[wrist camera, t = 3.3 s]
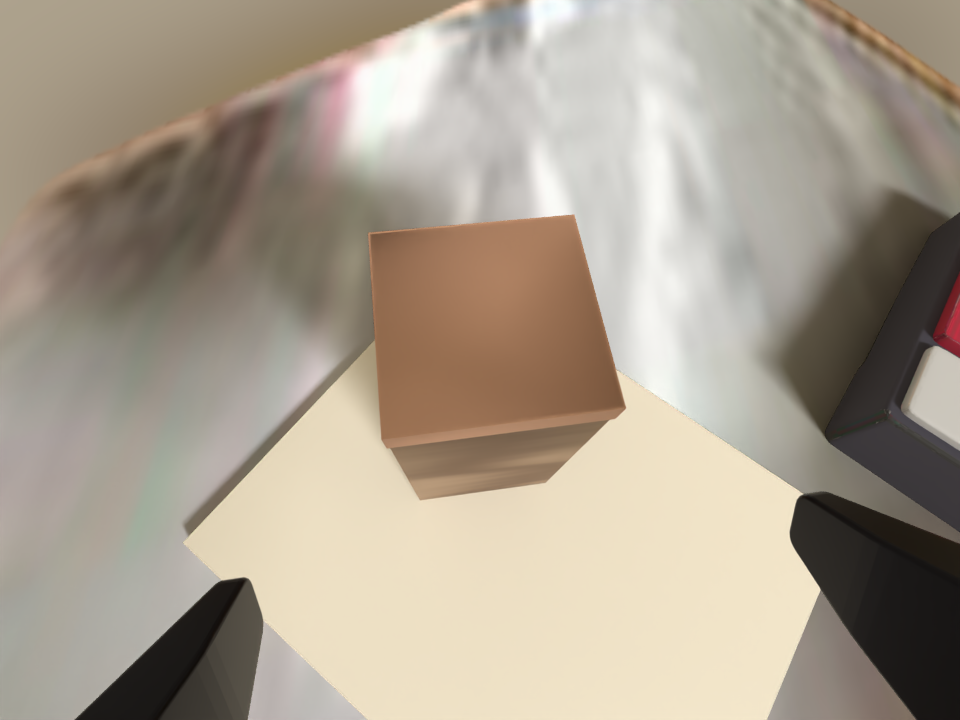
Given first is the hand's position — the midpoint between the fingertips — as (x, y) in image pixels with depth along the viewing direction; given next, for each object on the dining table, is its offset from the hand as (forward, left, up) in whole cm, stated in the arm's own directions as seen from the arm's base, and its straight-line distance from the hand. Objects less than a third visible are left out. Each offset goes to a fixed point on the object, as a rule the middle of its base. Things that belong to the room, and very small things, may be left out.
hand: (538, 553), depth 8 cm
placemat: (0, -2, -12) cm, 12 cm away
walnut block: (+4, -4, -11) cm, 12 cm away
